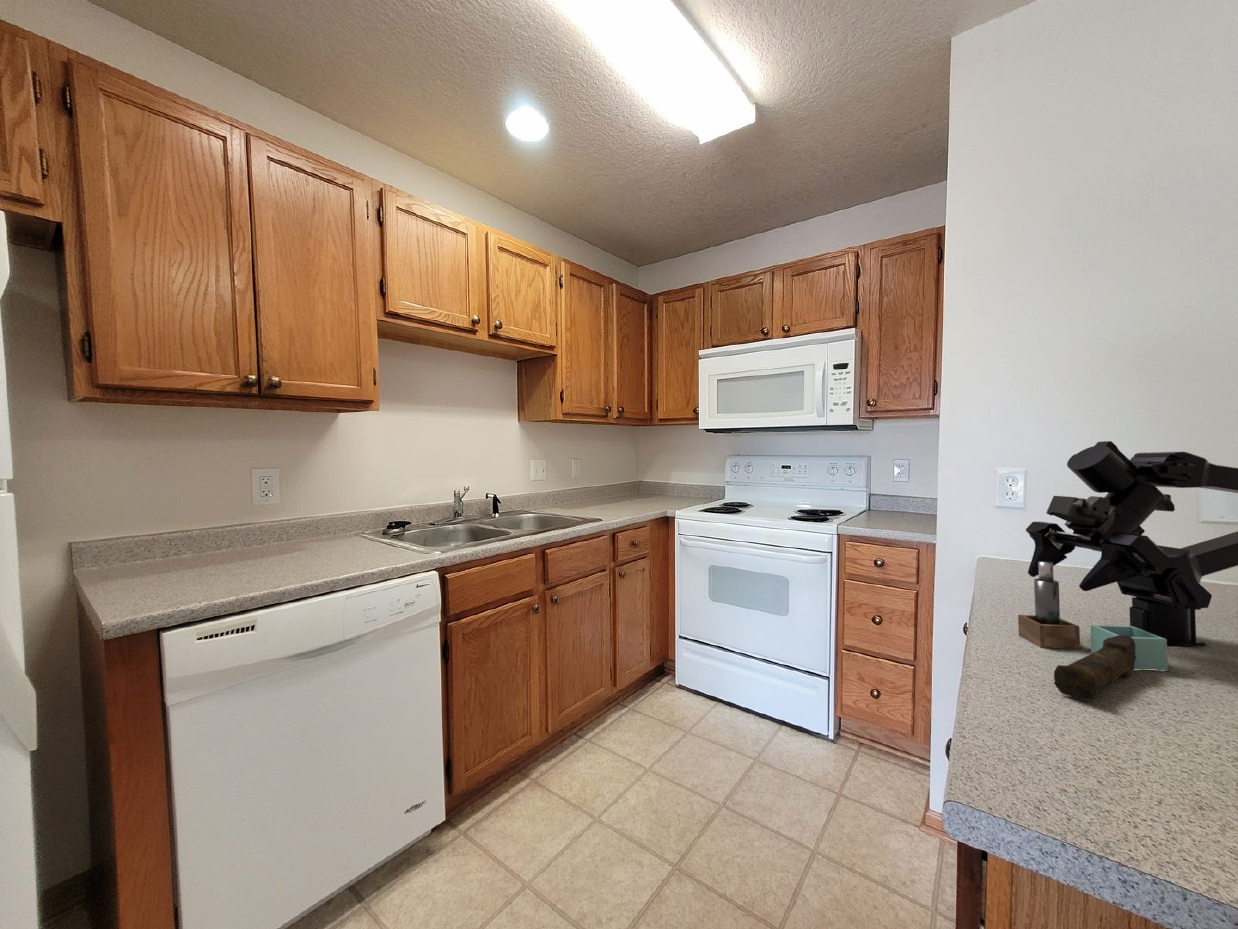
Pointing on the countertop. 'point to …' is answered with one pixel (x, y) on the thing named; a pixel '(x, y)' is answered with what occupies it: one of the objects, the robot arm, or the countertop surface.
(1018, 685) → the countertop surface
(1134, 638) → the hollow teal block
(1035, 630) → the socket block
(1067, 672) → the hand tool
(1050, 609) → the stepped grey cylinder
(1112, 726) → the countertop surface
